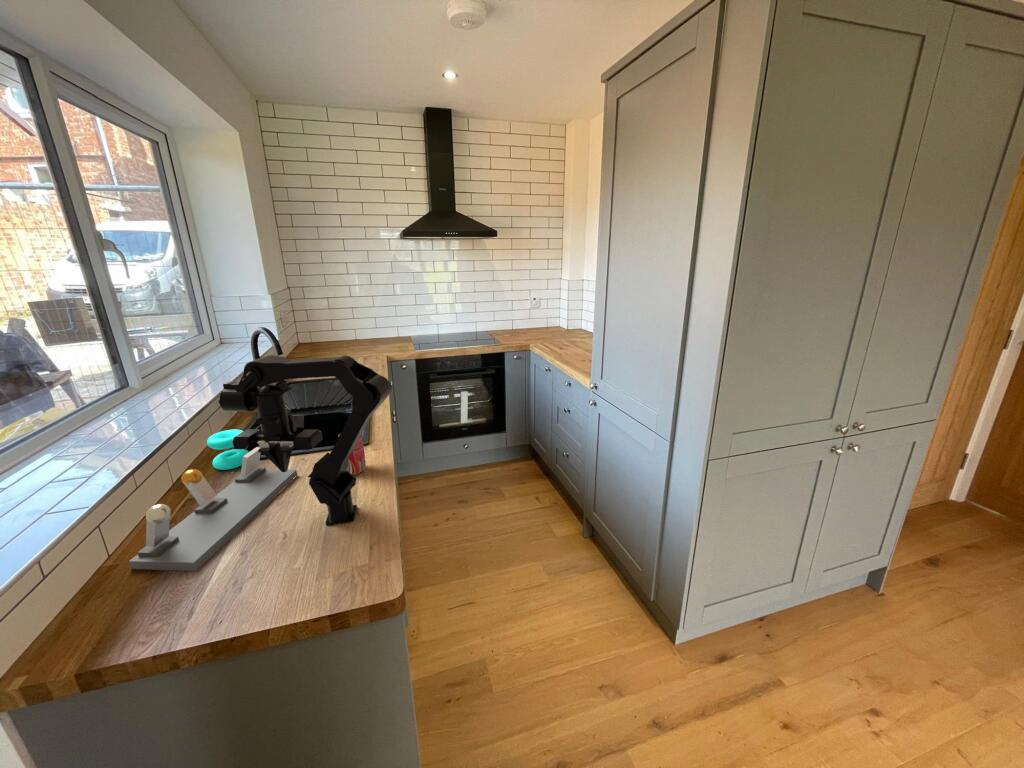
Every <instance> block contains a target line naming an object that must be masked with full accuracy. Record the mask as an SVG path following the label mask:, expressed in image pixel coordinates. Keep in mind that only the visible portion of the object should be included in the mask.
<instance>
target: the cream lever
mask: <svg viewBox="0 0 1024 768" xmlns="http://www.w3.org/2000/svg"><path fill="white" fill-rule="evenodd" d="M171 515H172V510H171V508H170V506H169V505H167V504H164V503H158V504H154V505H152V506H150V507H149V508H148V510H147V511H146V512H145V519H146V523H145V528H146V529H145V546H151V547H156V546H157V545H158V544H159V543H161V542H162V541H163V540H165V539H166V538H167V537H169V530H170V519H171Z"/></svg>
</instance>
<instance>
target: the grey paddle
mask: <svg viewBox="0 0 1024 768" xmlns="http://www.w3.org/2000/svg"><path fill="white" fill-rule="evenodd" d="M259 449H260V447H259V446H256V447H255V448H253V449H252V450H250V451H248V452H249V453H247V454H246V455H244V456H243V460H242V466H241V470H240V471H241V472H240V475H242V476H246V475H248V474H249V473H250V472H251V471H253V470H254V469H255V468H257V467H260V461H261V460H260V459H261V454H262V453H259V452H258V450H259Z"/></svg>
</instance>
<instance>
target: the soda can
mask: <svg viewBox="0 0 1024 768" xmlns="http://www.w3.org/2000/svg"><path fill="white" fill-rule="evenodd" d="M339 435H340V433H339V434H338V436H337V438H338V437H339ZM363 441H364V440H363V437H362V435H361V436H360V438H359V440H358V441H357V443H356V445H355V447H354V449H353V451H352V453H351V454H350V456H349V458H348V468H347V471H348V472H349V473H350V474H352V475H353V476H355V475H358V474H361V473H362V472H363V471H364V470H365V469H366V467H367V466H366V464H367V463H366V457H365V456H366V455H365V454H366V453H365V448H364V442H363ZM360 472H361V473H360Z"/></svg>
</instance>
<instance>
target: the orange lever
mask: <svg viewBox="0 0 1024 768" xmlns="http://www.w3.org/2000/svg"><path fill="white" fill-rule="evenodd" d="M181 482H182V484H184V486H185V487H186V489H187V490H188V491H189V492H190V494H191V496H192V497H193V498H194V499H195V501H196V502H197V503H198V504H199V506H202V505H204V504H206V503H208V502H209V501H210V500H212V499H213V498H214V497H216V496H217V494H218V493H216V492H215V490H214V489H213V488H212V486H211V484H209V482H208V481H207V479H206V478H205V476H204V475H203V474H202V472H201V471H200V470H198V469H195V468H193V469H192V468H191V469H188V470H186V471H184V472H183V474H182V475H181Z"/></svg>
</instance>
